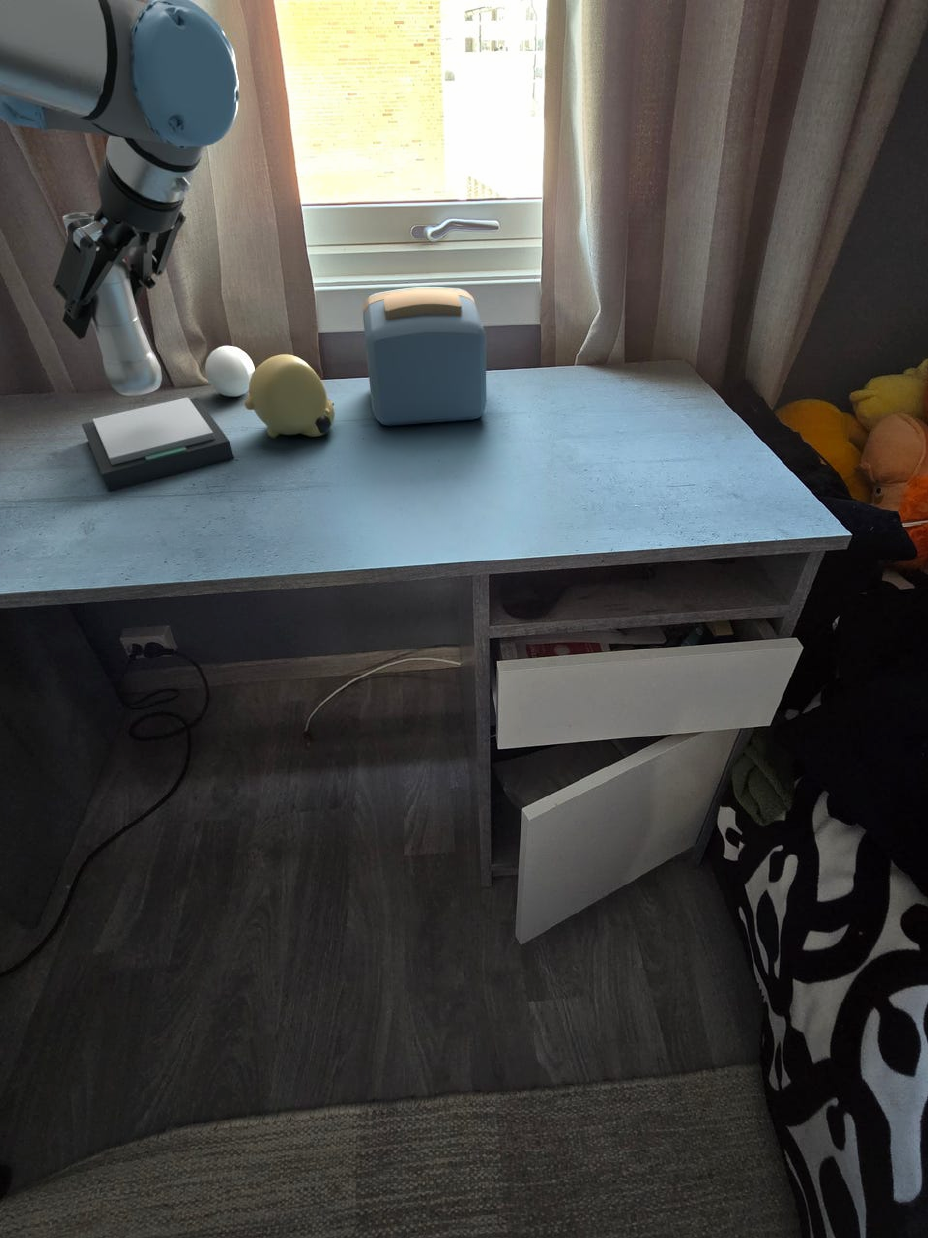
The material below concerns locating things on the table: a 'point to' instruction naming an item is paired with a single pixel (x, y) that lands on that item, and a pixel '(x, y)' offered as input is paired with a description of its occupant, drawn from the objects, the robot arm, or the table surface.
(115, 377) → the plastic bottle
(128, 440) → the scale
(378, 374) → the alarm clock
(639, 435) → the table surface
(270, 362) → the yellow round figure
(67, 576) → the table surface
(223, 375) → the white egg
